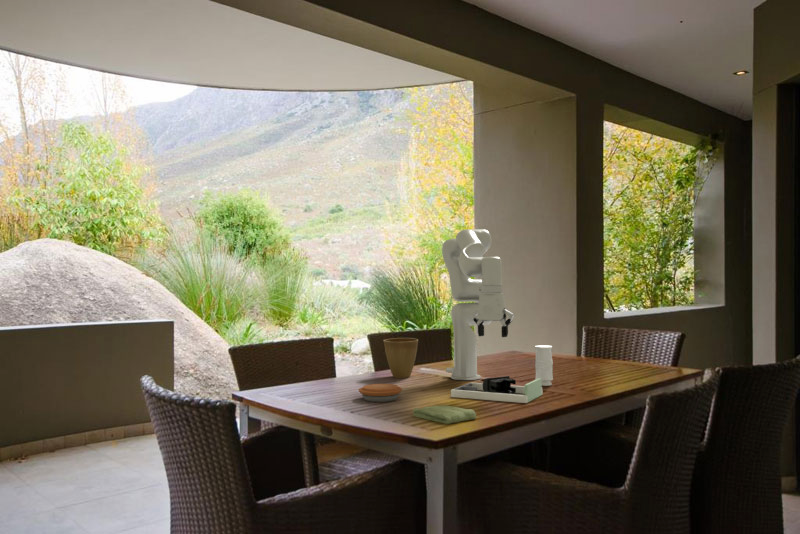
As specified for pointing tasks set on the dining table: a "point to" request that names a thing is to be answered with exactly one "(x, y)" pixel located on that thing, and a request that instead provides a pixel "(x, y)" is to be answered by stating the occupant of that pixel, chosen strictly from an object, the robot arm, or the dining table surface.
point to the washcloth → (444, 414)
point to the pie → (380, 392)
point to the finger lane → (529, 389)
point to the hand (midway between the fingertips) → (492, 336)
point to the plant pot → (401, 355)
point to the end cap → (499, 385)
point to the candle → (544, 364)
